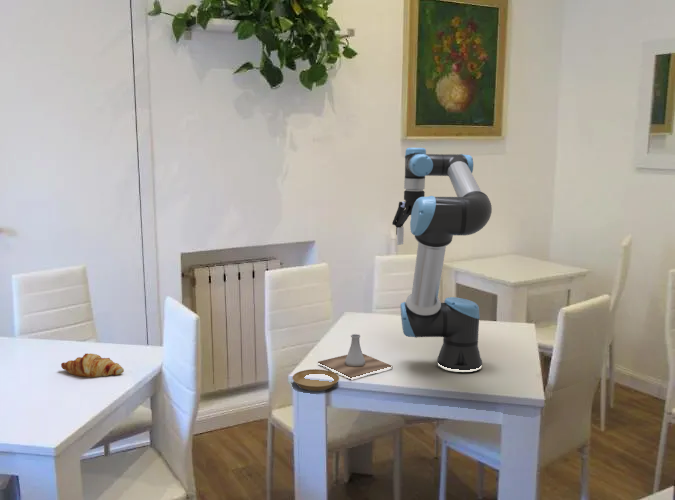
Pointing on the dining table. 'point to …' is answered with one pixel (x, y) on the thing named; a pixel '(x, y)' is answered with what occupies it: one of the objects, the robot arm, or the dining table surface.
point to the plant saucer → (314, 384)
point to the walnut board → (353, 371)
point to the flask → (355, 353)
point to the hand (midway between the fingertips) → (412, 247)
